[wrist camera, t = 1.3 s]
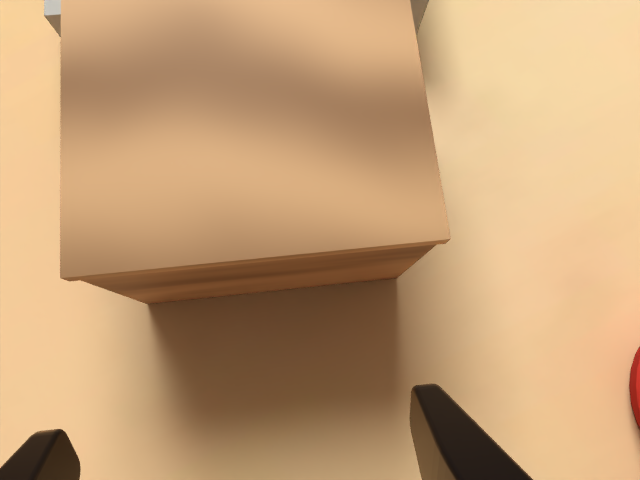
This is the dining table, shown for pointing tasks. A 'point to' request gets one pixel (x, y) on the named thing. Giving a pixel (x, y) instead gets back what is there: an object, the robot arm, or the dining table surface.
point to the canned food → (635, 386)
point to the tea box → (243, 146)
